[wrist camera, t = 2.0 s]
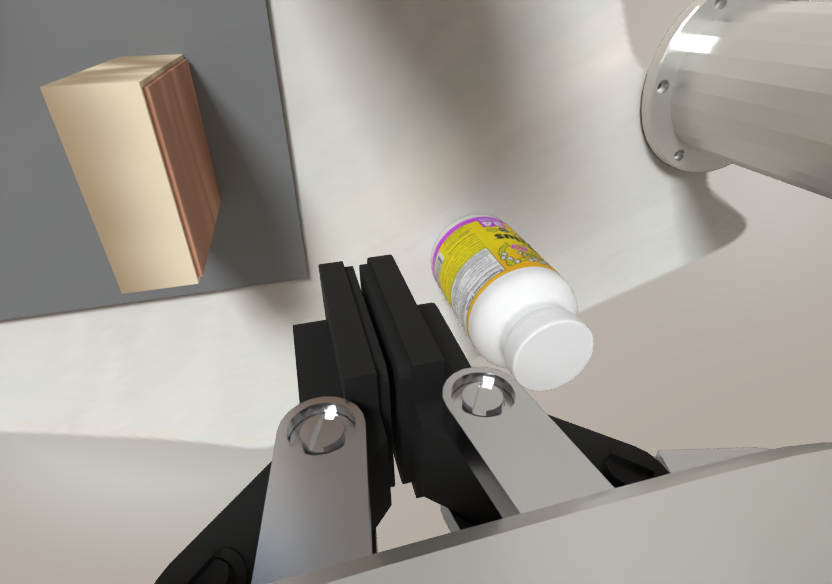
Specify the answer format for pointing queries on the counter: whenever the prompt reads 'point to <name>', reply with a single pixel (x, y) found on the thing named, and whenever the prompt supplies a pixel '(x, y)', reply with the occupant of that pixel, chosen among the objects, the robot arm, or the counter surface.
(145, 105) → the birch tile
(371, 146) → the counter surface
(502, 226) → the supplement bottle
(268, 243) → the rubber mat
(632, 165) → the counter surface
